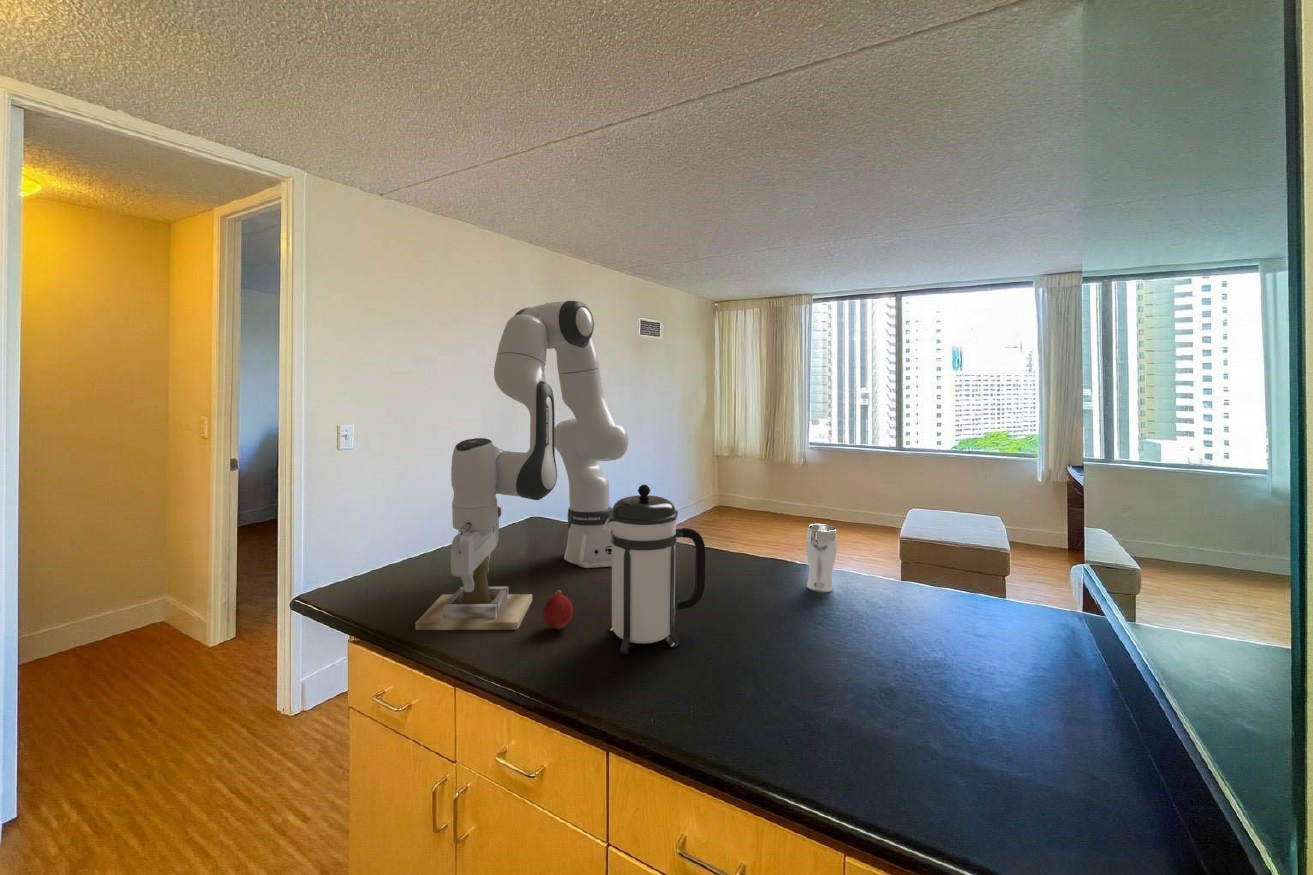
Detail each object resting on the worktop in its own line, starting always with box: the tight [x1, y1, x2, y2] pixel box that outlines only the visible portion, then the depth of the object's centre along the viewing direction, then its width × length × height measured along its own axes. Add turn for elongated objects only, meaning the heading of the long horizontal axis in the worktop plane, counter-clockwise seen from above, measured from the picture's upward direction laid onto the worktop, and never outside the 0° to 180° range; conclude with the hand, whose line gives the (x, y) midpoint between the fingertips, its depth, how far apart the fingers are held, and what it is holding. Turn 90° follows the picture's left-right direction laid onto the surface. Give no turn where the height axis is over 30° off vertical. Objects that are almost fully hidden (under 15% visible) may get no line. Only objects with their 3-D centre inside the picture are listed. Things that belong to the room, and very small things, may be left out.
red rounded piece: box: [542, 589, 574, 631], centre depth 103 cm, size 6×6×8 cm
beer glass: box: [806, 523, 838, 594], centre depth 125 cm, size 7×7×15 cm
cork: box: [462, 558, 491, 604], centre depth 109 cm, size 6×6×11 cm
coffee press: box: [603, 484, 706, 655], centre depth 99 cm, size 17×16×30 cm
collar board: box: [414, 586, 533, 631], centre depth 109 cm, size 20×14×4 cm
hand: (476, 581), depth 109 cm, fingers open, 8 cm apart
